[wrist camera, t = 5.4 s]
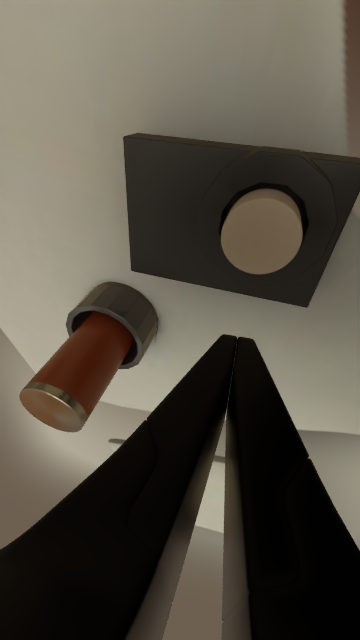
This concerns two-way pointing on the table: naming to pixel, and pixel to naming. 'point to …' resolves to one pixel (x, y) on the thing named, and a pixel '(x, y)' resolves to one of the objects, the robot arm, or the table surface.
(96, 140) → the table surface
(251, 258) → the release button
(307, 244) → the plate with ring holder
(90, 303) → the capsule holder
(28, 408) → the orange metal cylinder
